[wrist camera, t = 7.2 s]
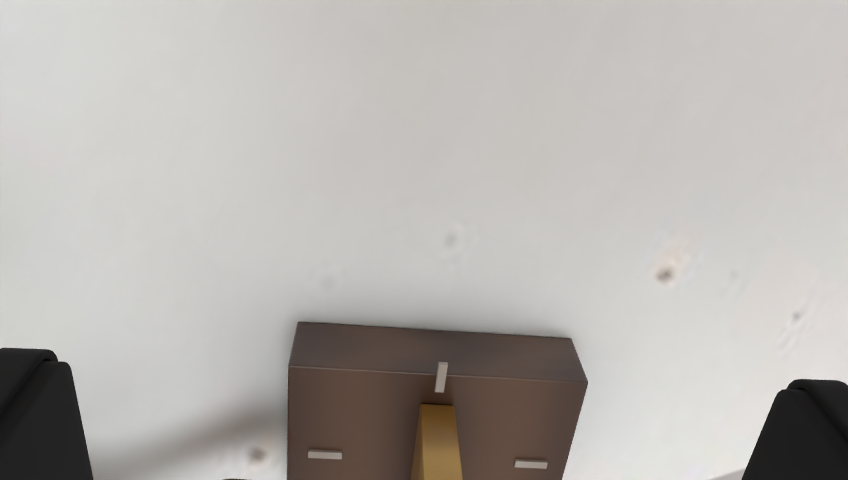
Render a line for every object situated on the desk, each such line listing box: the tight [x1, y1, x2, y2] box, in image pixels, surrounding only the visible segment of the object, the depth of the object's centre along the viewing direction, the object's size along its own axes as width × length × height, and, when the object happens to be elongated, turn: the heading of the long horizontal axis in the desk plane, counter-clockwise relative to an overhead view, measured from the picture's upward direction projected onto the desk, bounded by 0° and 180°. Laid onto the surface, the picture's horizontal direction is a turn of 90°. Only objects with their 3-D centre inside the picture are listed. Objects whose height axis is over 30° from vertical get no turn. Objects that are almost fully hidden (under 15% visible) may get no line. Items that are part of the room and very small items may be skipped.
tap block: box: [287, 322, 588, 480], centre depth 30 cm, size 12×10×3 cm
